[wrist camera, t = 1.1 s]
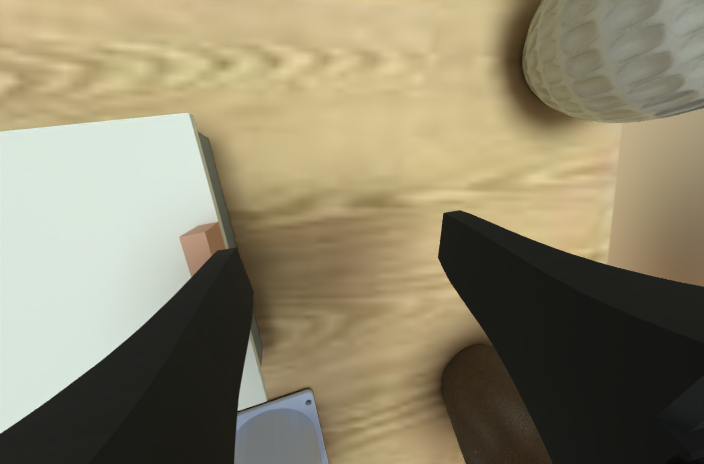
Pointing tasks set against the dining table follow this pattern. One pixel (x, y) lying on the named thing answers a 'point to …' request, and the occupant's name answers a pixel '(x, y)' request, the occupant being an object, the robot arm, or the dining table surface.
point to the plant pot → (489, 411)
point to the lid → (97, 247)
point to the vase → (617, 58)
